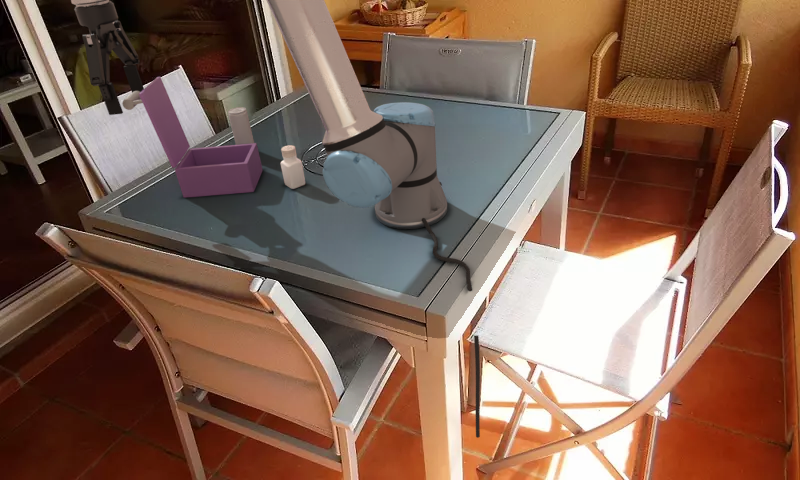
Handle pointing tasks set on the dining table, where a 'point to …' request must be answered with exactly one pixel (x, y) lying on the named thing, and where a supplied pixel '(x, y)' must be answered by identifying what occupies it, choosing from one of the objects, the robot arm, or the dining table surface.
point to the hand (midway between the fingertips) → (128, 103)
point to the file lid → (161, 119)
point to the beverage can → (240, 126)
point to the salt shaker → (292, 168)
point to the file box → (219, 170)
